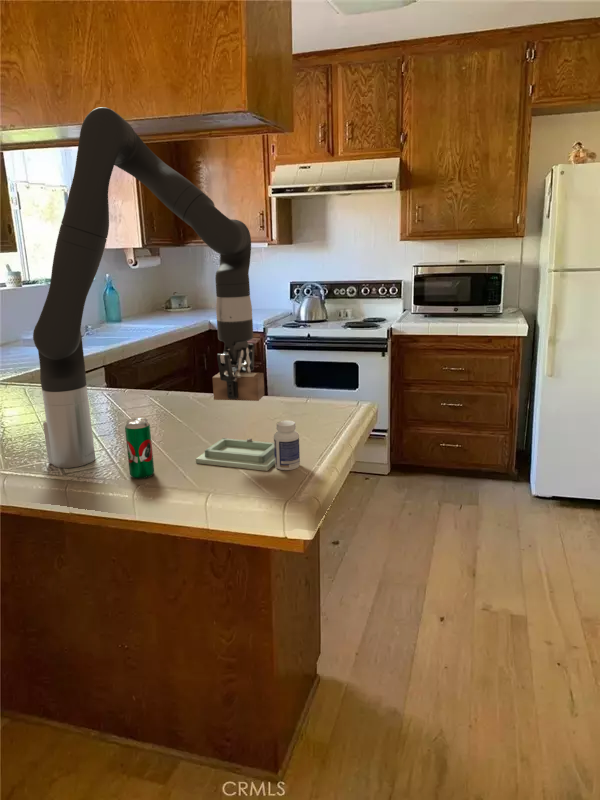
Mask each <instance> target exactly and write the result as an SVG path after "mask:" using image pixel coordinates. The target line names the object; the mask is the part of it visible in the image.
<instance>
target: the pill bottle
mask: <svg viewBox="0 0 600 800" xmlns="http://www.w3.org/2000/svg"><path fill="white" fill-rule="evenodd" d="M296 427H297V426H296V422H295V421H293V420H281V421H278V422H277V423H276V428H275V429H276V431H275V433H274V434H273V443H274V455H275V464H274V467H275V468H276V469H278V470H281V471H292V470H295V469H297V468H299V467H300V465H301V464H300V463H301V461H300V460H301V459H300V457H301V456H300V435H299V432H298V431H296Z"/></svg>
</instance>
